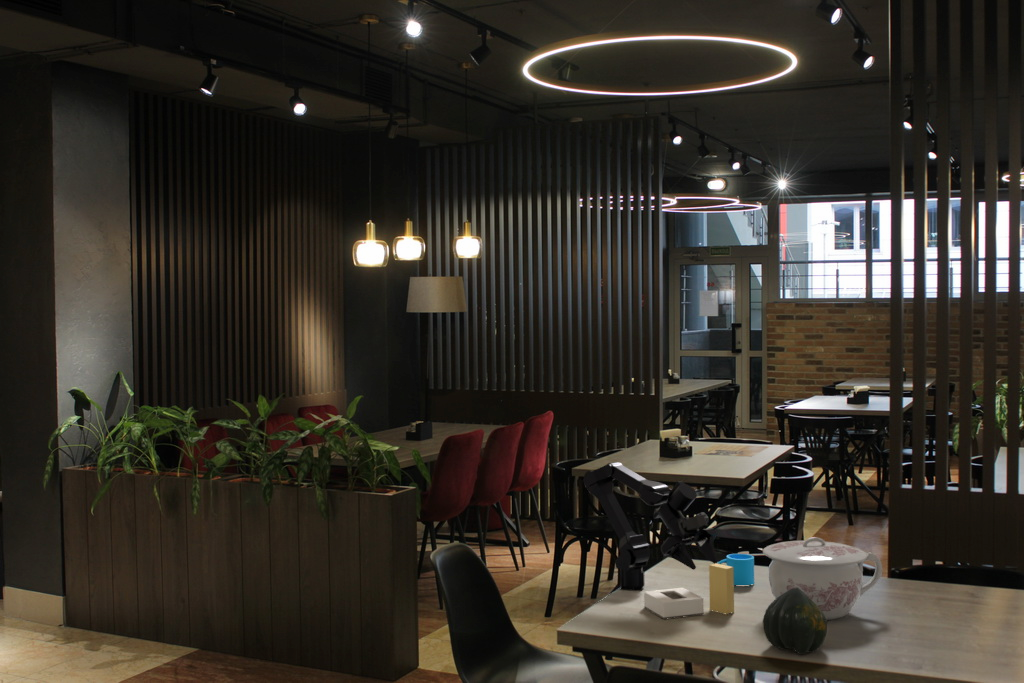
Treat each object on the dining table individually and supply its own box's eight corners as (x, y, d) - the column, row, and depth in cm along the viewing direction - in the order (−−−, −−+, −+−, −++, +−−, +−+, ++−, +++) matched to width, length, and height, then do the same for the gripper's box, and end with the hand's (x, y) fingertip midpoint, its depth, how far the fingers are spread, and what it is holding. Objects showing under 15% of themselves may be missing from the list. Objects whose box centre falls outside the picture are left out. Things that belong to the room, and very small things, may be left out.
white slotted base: (644, 607, 281) (644, 591, 281) (682, 603, 285) (682, 587, 285) (663, 619, 270) (663, 602, 270) (703, 614, 273) (703, 598, 273)
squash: (783, 640, 233) (814, 586, 237) (742, 626, 246) (772, 575, 251) (820, 674, 237) (850, 620, 242) (778, 658, 251) (807, 607, 255)
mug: (751, 579, 310) (751, 553, 310) (756, 586, 301) (756, 559, 301) (712, 580, 310) (711, 553, 310) (716, 587, 302) (716, 560, 302)
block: (709, 610, 278) (709, 565, 277) (716, 608, 280) (716, 563, 279) (727, 614, 273) (726, 568, 273) (734, 612, 275) (733, 567, 275)
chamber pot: (744, 615, 272) (743, 539, 272) (792, 594, 292) (791, 523, 292) (843, 635, 253) (842, 553, 253) (887, 611, 273) (886, 535, 273)
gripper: (667, 508, 278) (699, 554, 270) (711, 499, 290) (743, 543, 282) (647, 532, 285) (677, 578, 276) (691, 523, 296) (721, 567, 288)
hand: (705, 566), depth 280 cm, fingers open, 9 cm apart
